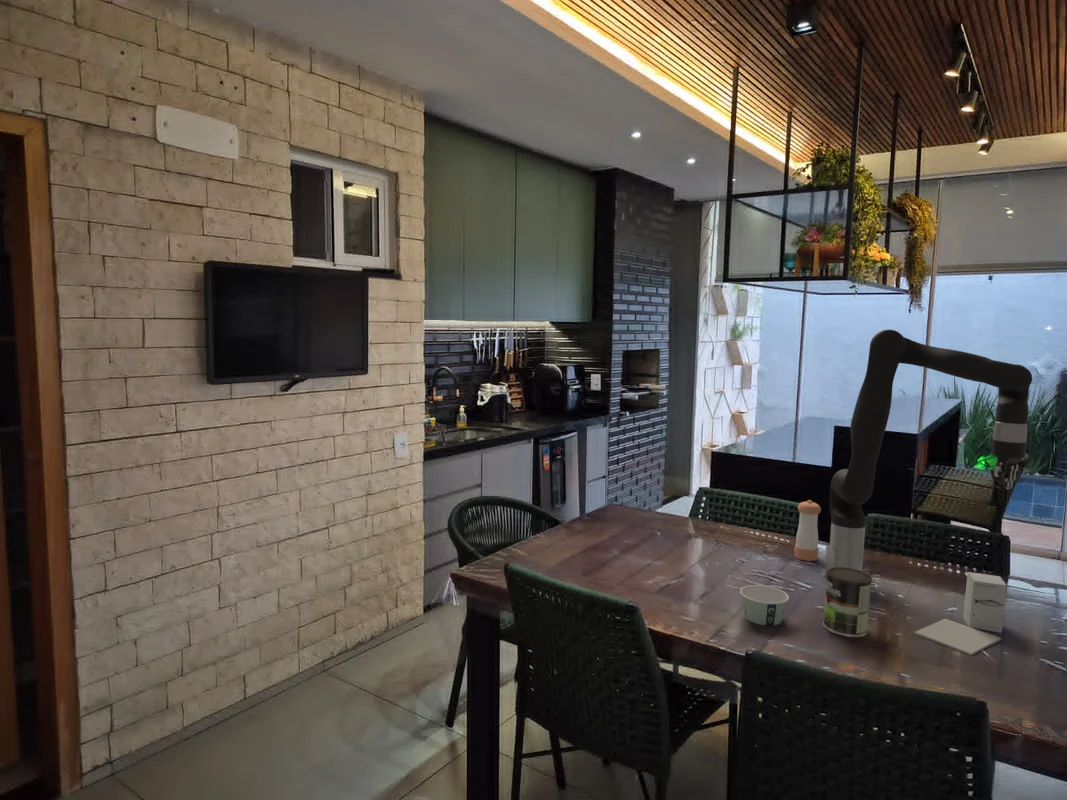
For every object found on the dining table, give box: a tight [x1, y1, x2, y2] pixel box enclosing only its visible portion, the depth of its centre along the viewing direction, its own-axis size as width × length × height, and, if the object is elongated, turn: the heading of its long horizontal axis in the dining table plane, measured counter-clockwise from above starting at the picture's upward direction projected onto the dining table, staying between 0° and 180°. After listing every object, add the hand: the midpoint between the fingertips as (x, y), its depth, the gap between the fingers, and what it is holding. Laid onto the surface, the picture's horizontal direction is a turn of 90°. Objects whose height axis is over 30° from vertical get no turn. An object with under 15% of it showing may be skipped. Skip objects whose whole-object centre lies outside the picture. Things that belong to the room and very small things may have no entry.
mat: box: [913, 618, 1002, 656], centre depth 168 cm, size 15×13×1 cm
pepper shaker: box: [793, 499, 822, 562], centre depth 224 cm, size 7×7×19 cm
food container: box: [739, 584, 790, 627], centre depth 177 cm, size 12×12×6 cm
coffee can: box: [822, 567, 873, 638], centre depth 171 cm, size 10×10×14 cm
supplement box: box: [962, 571, 1008, 634], centre depth 175 cm, size 7×7×13 cm
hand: (1003, 502), depth 185 cm, fingers closed
